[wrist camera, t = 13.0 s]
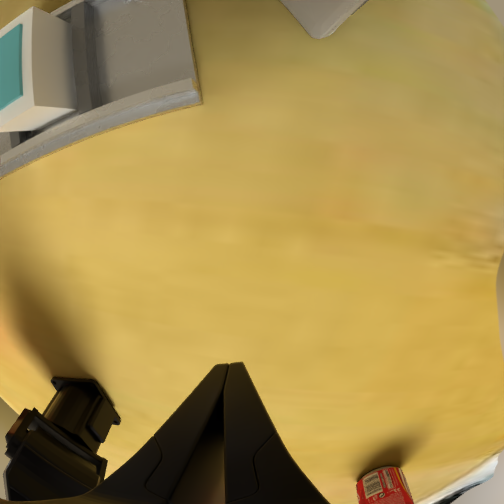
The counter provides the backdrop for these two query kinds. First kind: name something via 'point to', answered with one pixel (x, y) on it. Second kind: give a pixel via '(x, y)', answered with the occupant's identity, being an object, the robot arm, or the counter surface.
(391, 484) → the soda can
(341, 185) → the counter surface
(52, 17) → the module
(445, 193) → the counter surface
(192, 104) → the grey tray
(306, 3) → the electrical switch
